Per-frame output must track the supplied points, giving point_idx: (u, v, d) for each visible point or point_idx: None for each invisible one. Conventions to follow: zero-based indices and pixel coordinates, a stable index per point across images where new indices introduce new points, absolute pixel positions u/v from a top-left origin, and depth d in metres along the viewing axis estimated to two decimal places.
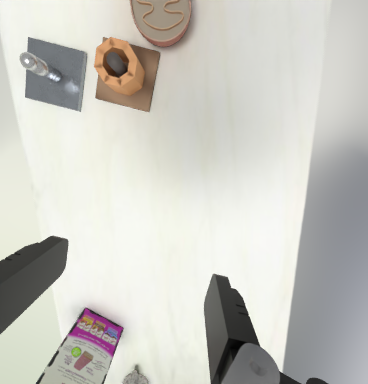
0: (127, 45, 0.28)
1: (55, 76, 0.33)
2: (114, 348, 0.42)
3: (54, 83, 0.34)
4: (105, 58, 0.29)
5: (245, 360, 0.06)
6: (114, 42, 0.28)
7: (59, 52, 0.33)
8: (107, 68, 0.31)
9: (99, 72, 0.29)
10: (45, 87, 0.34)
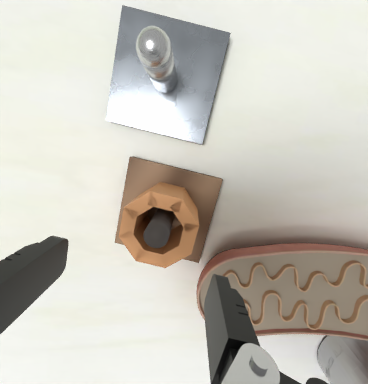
0: (185, 253, 0.16)
1: (156, 86, 0.17)
2: None
3: (150, 78, 0.18)
4: None
5: (245, 360, 0.06)
6: (190, 231, 0.16)
7: (201, 97, 0.18)
8: None
9: (140, 200, 0.15)
10: None
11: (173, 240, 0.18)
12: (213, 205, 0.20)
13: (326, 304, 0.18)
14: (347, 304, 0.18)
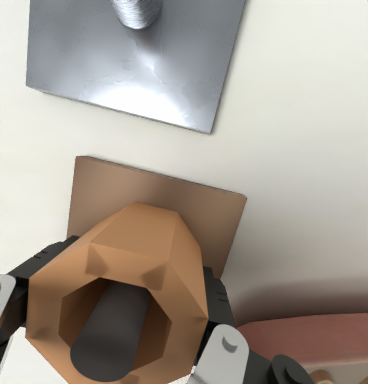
0: (177, 372, 0.07)
1: (116, 7, 0.08)
2: None
3: None
4: None
5: (217, 338, 0.06)
6: (188, 330, 0.07)
7: (210, 38, 0.09)
8: None
9: (68, 262, 0.06)
10: None
11: (154, 324, 0.09)
12: (229, 242, 0.11)
13: None
14: None
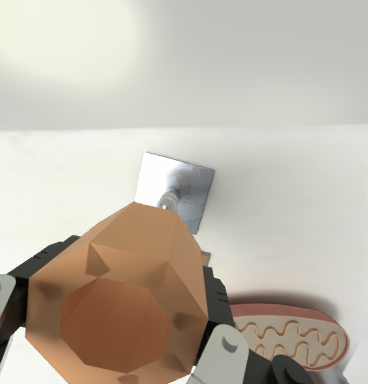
0: (177, 372, 0.07)
1: None
2: None
3: (162, 194, 0.27)
4: None
5: (217, 338, 0.06)
6: (188, 330, 0.07)
7: (195, 206, 0.27)
8: None
9: (67, 262, 0.06)
10: (157, 182, 0.27)
11: (154, 324, 0.09)
12: None
13: (276, 347, 0.28)
14: (290, 346, 0.28)
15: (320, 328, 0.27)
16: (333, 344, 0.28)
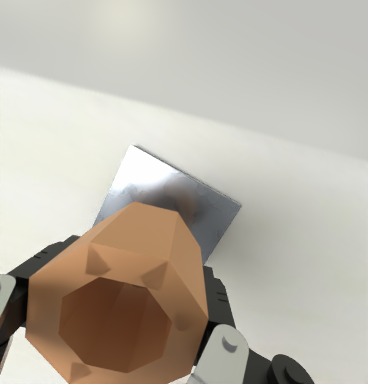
0: (177, 372, 0.07)
1: None
2: None
3: None
4: None
5: (217, 338, 0.06)
6: (188, 330, 0.07)
7: None
8: None
9: (68, 262, 0.06)
10: (139, 201, 0.15)
11: (154, 323, 0.09)
12: None
13: None
14: None
15: None
16: None
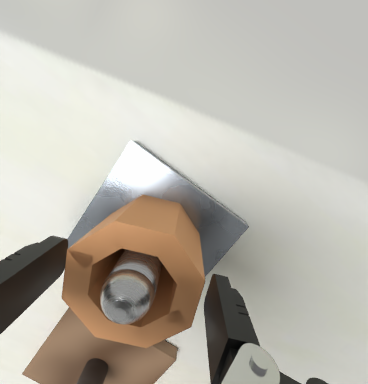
0: (180, 325, 0.09)
1: None
2: None
3: None
4: None
5: (245, 360, 0.06)
6: (189, 291, 0.09)
7: None
8: None
9: (97, 237, 0.08)
10: None
11: (161, 293, 0.11)
12: (155, 379, 0.17)
13: None
14: None
15: None
16: None
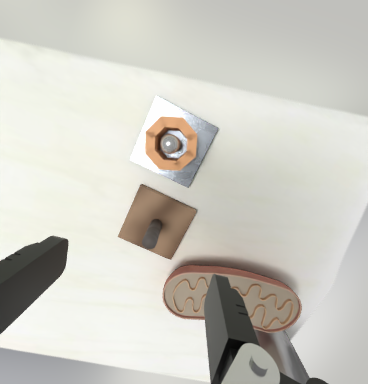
0: (191, 156, 0.23)
1: None
2: None
3: None
4: (175, 128, 0.23)
5: (245, 360, 0.06)
6: (192, 140, 0.23)
7: (193, 160, 0.28)
8: (168, 128, 0.24)
9: (155, 124, 0.23)
10: None
11: (182, 155, 0.25)
12: (187, 226, 0.31)
13: None
14: (250, 307, 0.31)
15: (279, 294, 0.30)
16: (286, 311, 0.31)
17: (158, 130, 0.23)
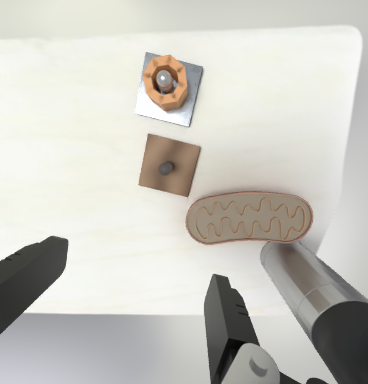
0: (184, 86, 0.28)
1: (163, 94, 0.32)
2: None
3: (160, 90, 0.33)
4: (166, 67, 0.28)
5: (245, 360, 0.06)
6: (181, 72, 0.28)
7: (188, 100, 0.33)
8: None
9: (149, 65, 0.28)
10: None
11: None
12: (195, 161, 0.36)
13: (254, 222, 0.34)
14: (266, 222, 0.34)
15: (289, 204, 0.33)
16: (300, 218, 0.34)
17: (152, 70, 0.28)
